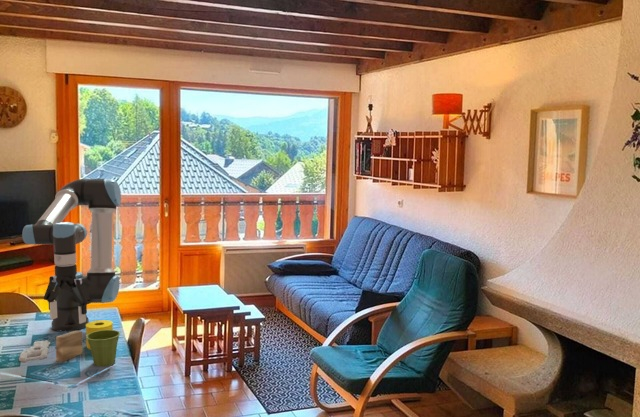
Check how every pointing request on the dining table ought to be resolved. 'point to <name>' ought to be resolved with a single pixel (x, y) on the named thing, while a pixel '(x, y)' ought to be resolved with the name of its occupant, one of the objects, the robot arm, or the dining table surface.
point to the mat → (36, 378)
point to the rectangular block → (68, 345)
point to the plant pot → (103, 346)
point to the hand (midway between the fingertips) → (68, 320)
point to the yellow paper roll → (98, 327)
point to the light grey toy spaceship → (35, 351)
